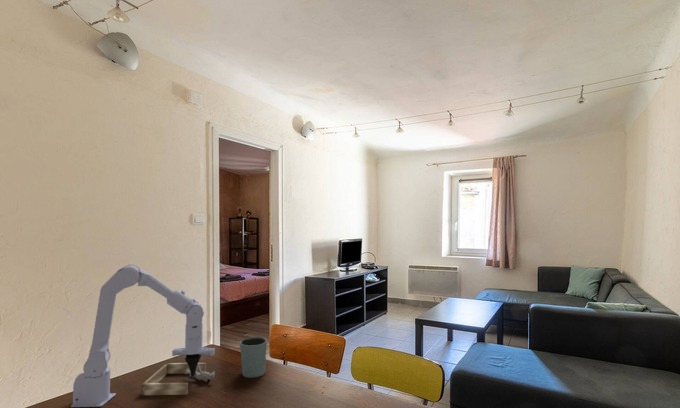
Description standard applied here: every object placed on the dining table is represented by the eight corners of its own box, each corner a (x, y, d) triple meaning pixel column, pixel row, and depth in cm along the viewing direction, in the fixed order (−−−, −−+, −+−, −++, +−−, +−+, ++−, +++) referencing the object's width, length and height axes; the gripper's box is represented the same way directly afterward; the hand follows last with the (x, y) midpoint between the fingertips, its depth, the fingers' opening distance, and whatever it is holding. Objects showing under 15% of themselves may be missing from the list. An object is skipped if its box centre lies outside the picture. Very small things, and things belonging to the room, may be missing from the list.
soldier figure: (197, 375, 137) (223, 369, 134) (193, 388, 133) (219, 382, 130) (184, 365, 133) (210, 359, 129) (179, 379, 129) (206, 372, 126)
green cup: (260, 379, 131) (260, 346, 132) (234, 377, 133) (234, 344, 134) (270, 368, 141) (270, 337, 142) (246, 366, 143) (247, 335, 144)
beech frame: (141, 395, 120) (141, 384, 120) (166, 372, 138) (166, 363, 138) (186, 394, 120) (186, 383, 120) (205, 371, 138) (205, 362, 138)
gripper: (217, 333, 134) (217, 370, 133) (178, 333, 134) (177, 371, 133) (211, 339, 127) (210, 378, 126) (169, 340, 127) (169, 379, 126)
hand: (193, 375), depth 129 cm, fingers closed, pressing on soldier figure
